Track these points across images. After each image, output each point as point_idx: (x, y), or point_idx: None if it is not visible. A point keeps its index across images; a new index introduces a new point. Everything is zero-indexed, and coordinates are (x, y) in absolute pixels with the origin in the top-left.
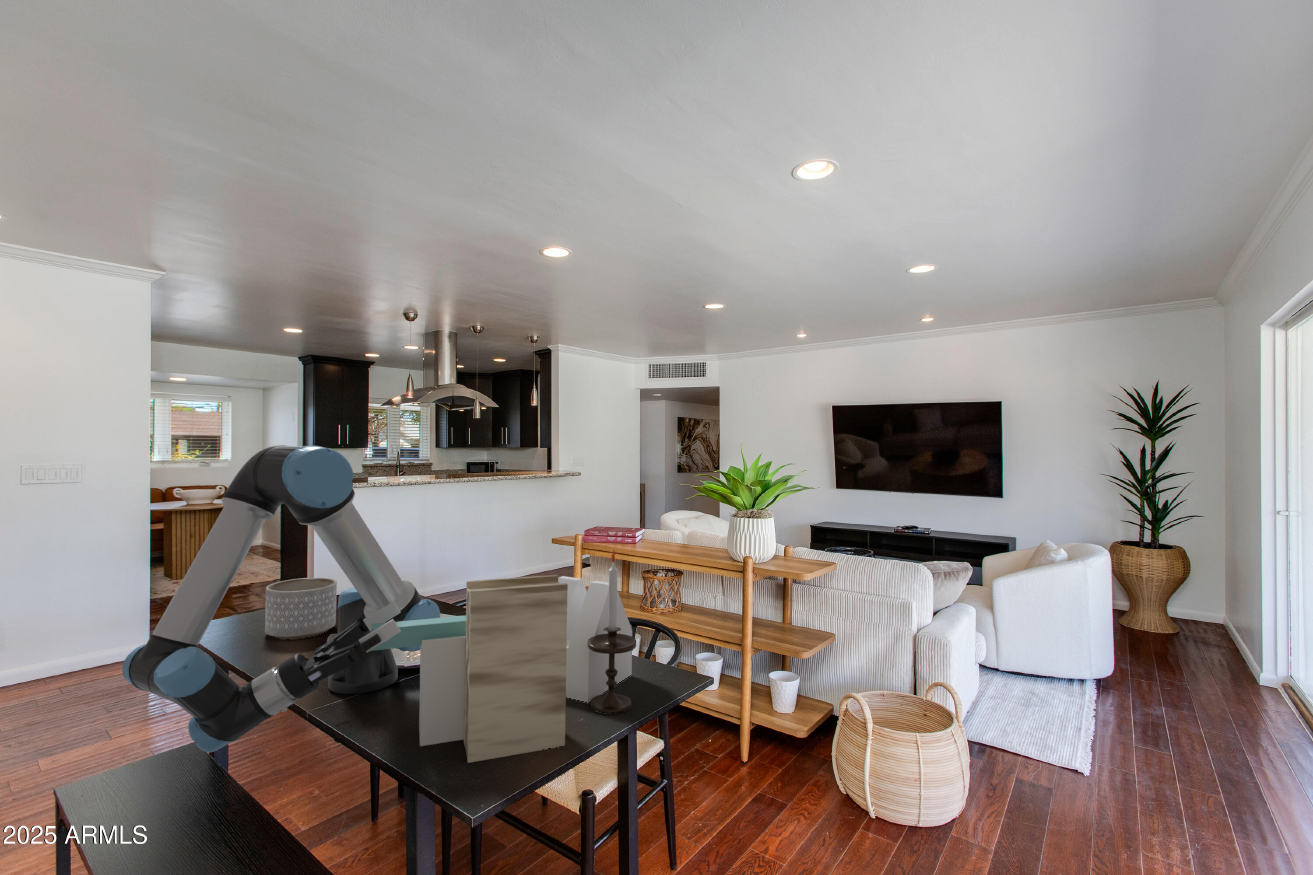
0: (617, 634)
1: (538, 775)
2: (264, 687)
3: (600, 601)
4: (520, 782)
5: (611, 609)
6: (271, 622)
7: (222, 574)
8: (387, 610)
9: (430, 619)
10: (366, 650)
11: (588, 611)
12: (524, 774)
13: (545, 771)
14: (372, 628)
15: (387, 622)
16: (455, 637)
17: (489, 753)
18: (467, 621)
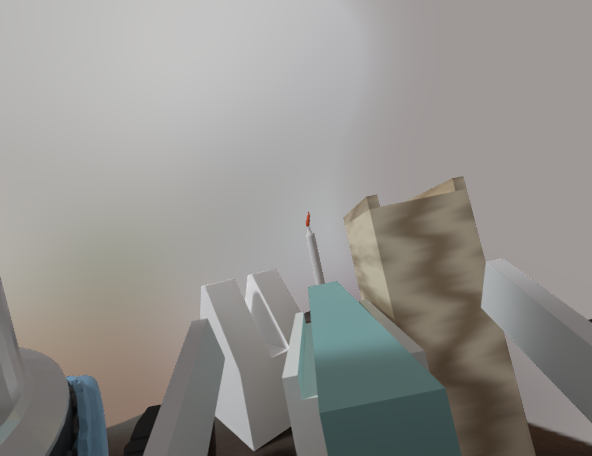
0: (305, 314)
1: (549, 432)
2: None
3: (280, 286)
4: (585, 450)
5: (322, 276)
6: None
7: None
8: (204, 365)
9: (321, 321)
10: None
11: (276, 301)
12: (555, 447)
13: (533, 426)
14: (416, 391)
15: (508, 274)
16: (388, 325)
17: None
18: (419, 264)
